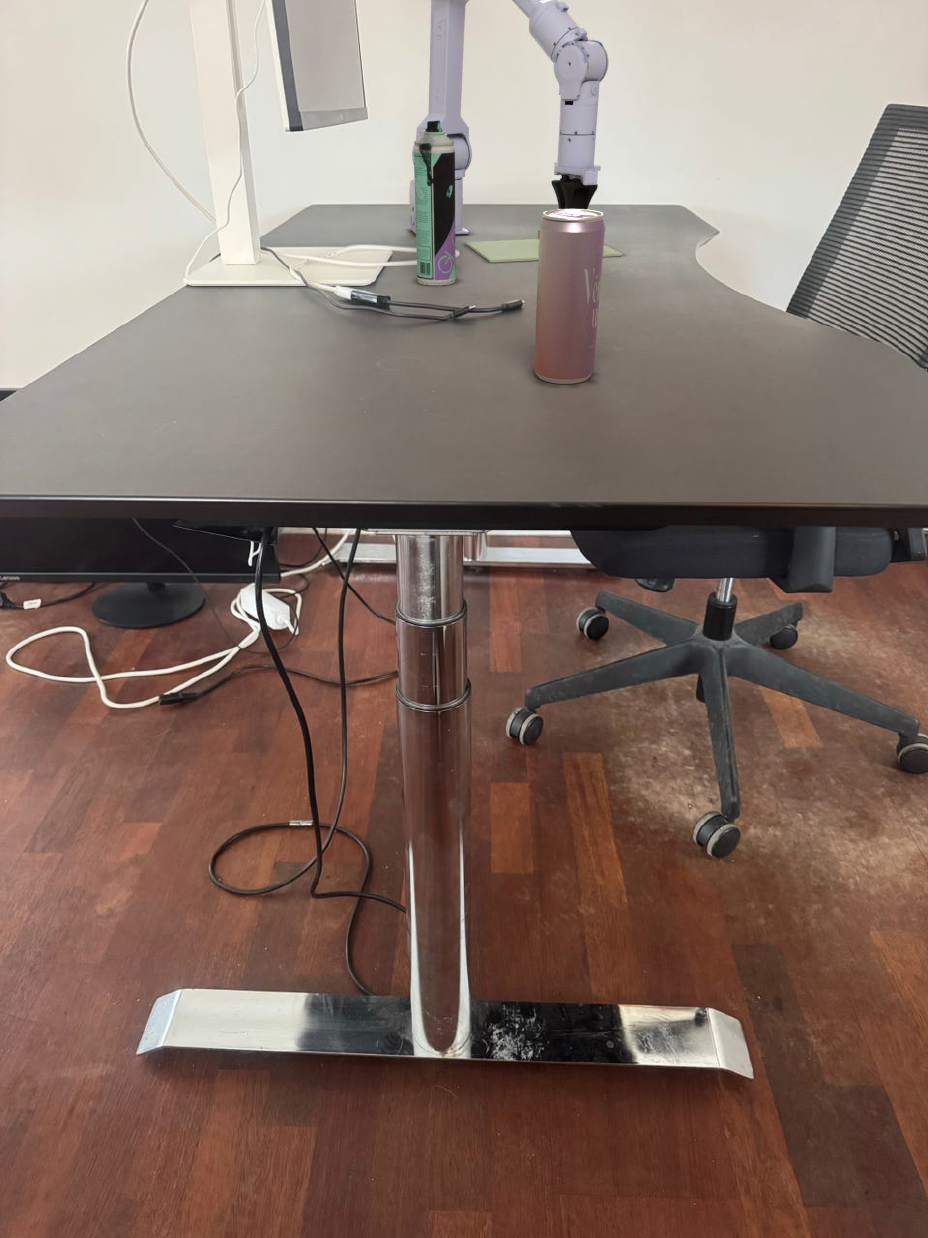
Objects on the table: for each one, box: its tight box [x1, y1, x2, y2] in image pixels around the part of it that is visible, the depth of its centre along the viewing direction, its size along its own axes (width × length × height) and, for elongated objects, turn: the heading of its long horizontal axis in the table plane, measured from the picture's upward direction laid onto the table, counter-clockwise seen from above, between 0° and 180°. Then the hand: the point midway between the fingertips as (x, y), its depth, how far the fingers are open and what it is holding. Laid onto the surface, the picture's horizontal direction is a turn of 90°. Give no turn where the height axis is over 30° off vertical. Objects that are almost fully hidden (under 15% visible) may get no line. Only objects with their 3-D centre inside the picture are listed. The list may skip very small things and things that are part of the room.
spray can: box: [413, 121, 457, 286], centre depth 119 cm, size 6×6×20 cm
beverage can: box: [533, 208, 606, 385], centre depth 84 cm, size 6×6×15 cm
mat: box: [465, 238, 623, 264], centre depth 144 cm, size 22×16×1 cm
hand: (571, 229), depth 142 cm, fingers closed on brush, 2 cm apart
